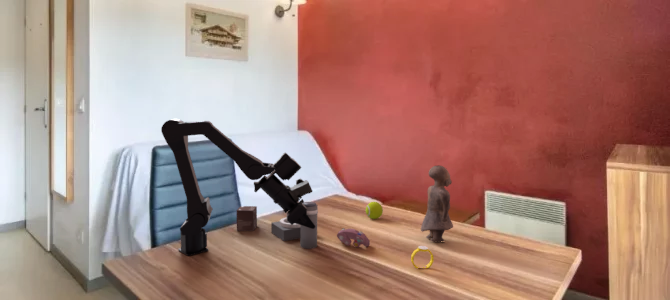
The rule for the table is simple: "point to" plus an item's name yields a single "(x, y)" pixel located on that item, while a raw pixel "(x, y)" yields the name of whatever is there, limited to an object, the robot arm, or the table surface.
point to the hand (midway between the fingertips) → (313, 225)
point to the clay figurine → (438, 205)
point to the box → (247, 218)
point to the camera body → (285, 230)
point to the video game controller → (353, 237)
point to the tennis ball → (374, 210)
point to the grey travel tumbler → (307, 234)
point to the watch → (423, 249)
